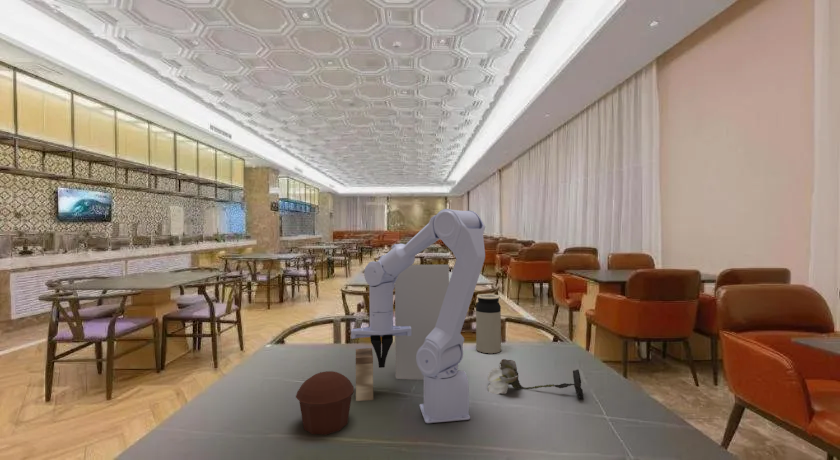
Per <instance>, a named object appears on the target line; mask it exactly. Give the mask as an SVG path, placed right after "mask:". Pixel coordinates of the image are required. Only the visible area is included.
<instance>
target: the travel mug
mask: <svg viewBox="0 0 840 460" xmlns="http://www.w3.org/2000/svg"><path fill="white" fill-rule="evenodd" d="M476 298H477V303H476V305H475V317H476V318H475V321H476V322H475V328H476V329H475V331H476V332H475V333H476V335H475V336H476V337H475V338H476V339H475V340H476V342H475V343H476V345H475V347H476V351H478V352H479V353H481V352H482V353H481V354H486V353H488V354H492V355H493V353H494V354H498V353H500V352H501V351H502V331H501V330H502V323H501V322H502V321H501V320H502V317H501V315H502V314H501V313H502V310H501V309H502V307H501V304H500V302H499V299H500V298H501V297H500V295H498V294H492V293H482V294H480V293H479V294H477V295H476ZM488 354H487V355H488Z"/></svg>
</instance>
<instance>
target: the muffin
mask: <svg viewBox="0 0 840 460" xmlns="http://www.w3.org/2000/svg"><path fill="white" fill-rule="evenodd" d="M354 389H355V388H354V385H353V384H352V382H351V380H349V378H348V377H346V376H345V375H344V374H342V373H340V372H337V371H333V370H331V371H330V370H329V371H320V372H318V373H315V374H313V375H312V376H311V377H309V378H307V379H306V380H305V381H304V382H303V383H302V384H301V385H300V387H299V389H298V390H297V392H296V395H295V399H297V400H298V402H299V409H300V414H301V420H302V425H303V430H304V431H306V432H308V433H310V434H311V435H329V434H332V433H336V432H340V431H341V430H342V429H344V427H345V426H347V425H348V422H349V417H350V409H351V402H352V397H353V394H354V391H355V390H354Z"/></svg>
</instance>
